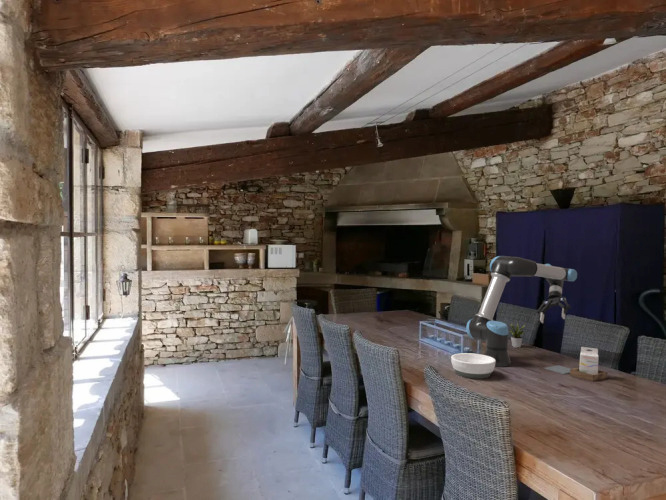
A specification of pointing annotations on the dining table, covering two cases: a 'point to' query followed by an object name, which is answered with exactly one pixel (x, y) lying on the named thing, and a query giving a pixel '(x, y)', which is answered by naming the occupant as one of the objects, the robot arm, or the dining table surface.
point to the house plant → (516, 336)
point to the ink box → (589, 360)
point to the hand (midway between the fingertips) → (552, 319)
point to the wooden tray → (588, 375)
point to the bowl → (473, 365)
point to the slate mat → (559, 369)
